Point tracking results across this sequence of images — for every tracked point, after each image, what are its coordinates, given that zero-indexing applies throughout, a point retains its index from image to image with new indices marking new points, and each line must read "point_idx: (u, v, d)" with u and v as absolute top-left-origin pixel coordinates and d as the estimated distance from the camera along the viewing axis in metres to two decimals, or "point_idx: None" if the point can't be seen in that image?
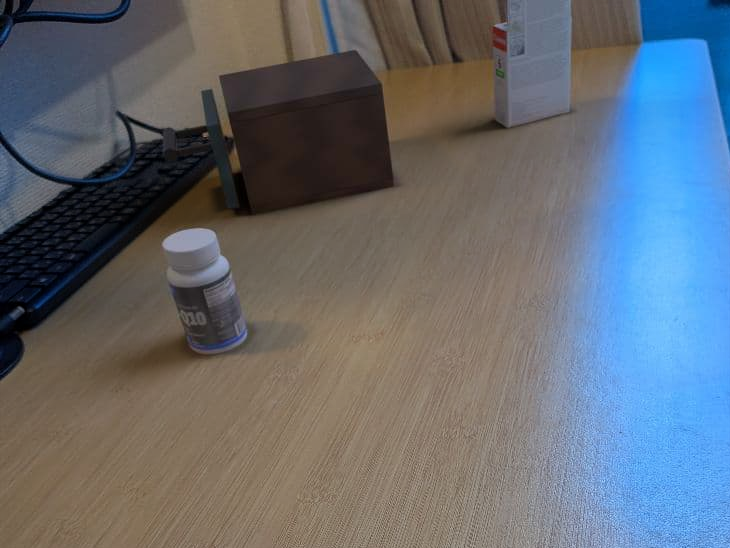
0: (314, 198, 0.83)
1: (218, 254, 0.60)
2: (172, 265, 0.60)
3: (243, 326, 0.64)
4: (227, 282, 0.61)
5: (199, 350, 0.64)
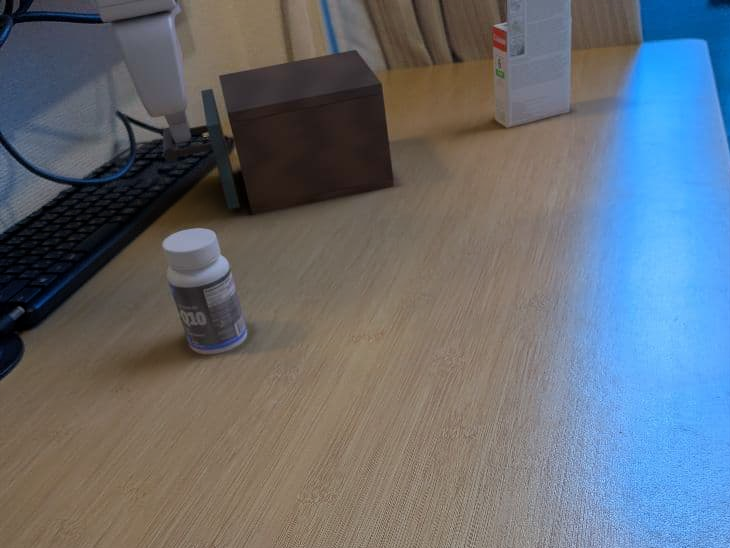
0: (314, 198, 0.83)
1: (218, 254, 0.60)
2: (172, 265, 0.60)
3: (243, 326, 0.64)
4: (227, 282, 0.61)
5: (199, 350, 0.64)
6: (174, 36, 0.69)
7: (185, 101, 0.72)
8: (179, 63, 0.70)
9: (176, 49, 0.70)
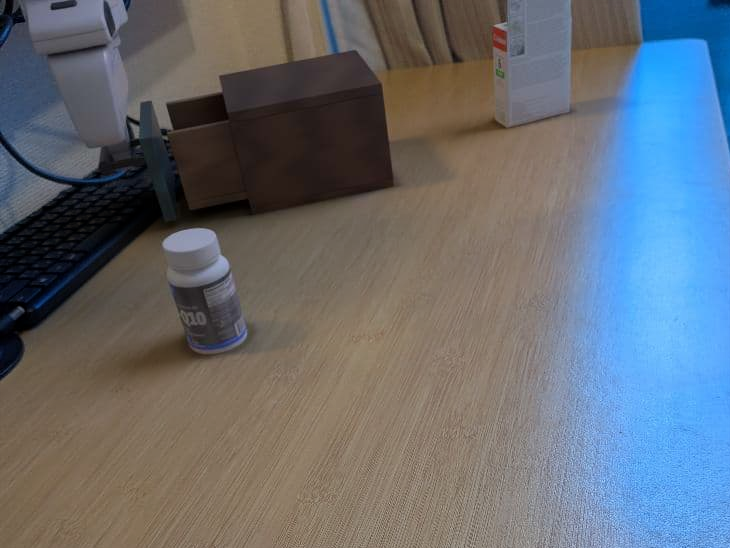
0: (314, 198, 0.83)
1: (218, 254, 0.60)
2: (172, 265, 0.60)
3: (243, 326, 0.64)
4: (227, 282, 0.61)
5: (199, 350, 0.64)
6: (109, 70, 0.70)
7: (122, 133, 0.73)
8: (115, 96, 0.71)
9: (111, 83, 0.71)
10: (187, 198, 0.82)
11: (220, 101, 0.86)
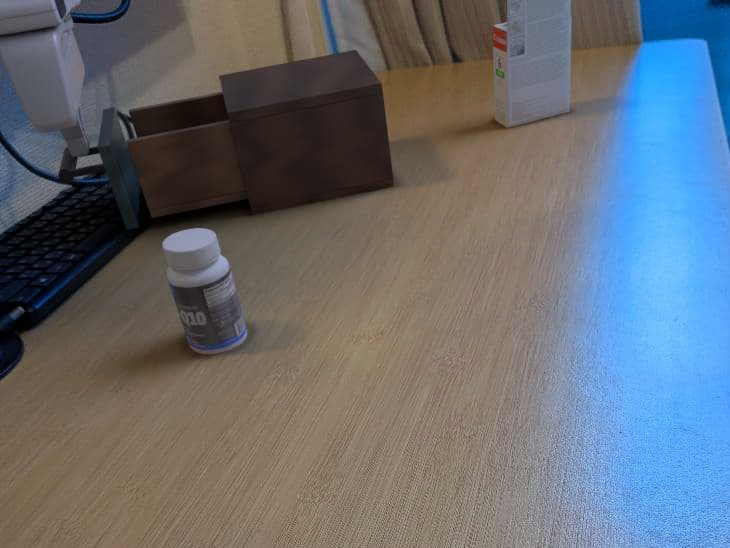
0: (314, 198, 0.83)
1: (218, 254, 0.60)
2: (172, 265, 0.60)
3: (243, 326, 0.64)
4: (227, 282, 0.61)
5: (199, 350, 0.64)
6: (59, 52, 0.69)
7: (73, 117, 0.72)
8: (66, 80, 0.70)
9: (62, 66, 0.69)
10: (148, 206, 0.81)
11: (183, 108, 0.86)
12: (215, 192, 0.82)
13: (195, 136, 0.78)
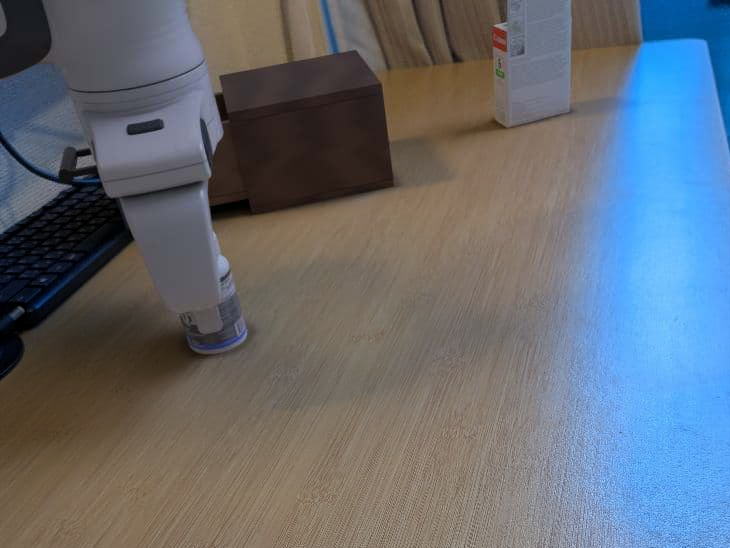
0: (314, 198, 0.83)
1: (218, 254, 0.60)
2: None
3: (243, 326, 0.64)
4: (227, 282, 0.61)
5: (199, 350, 0.64)
6: (208, 215, 0.50)
7: (220, 294, 0.53)
8: (213, 249, 0.51)
9: (210, 232, 0.51)
10: None
11: None
12: (215, 192, 0.82)
13: None
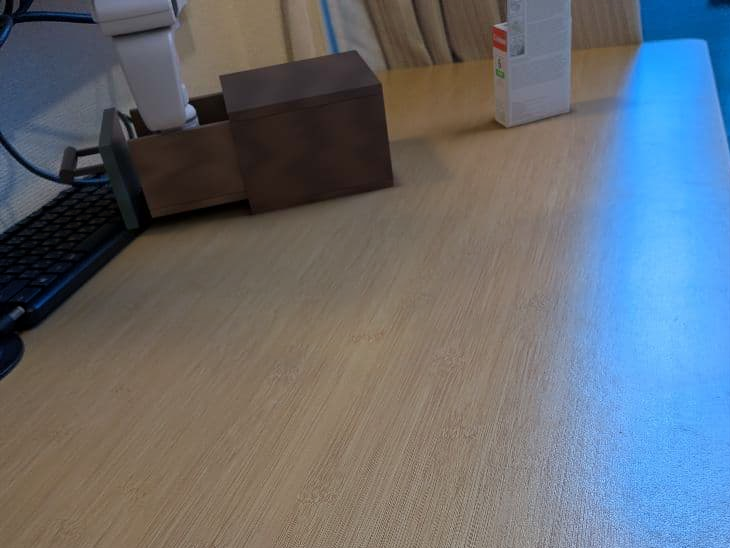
0: (314, 198, 0.83)
1: (187, 101, 0.80)
2: None
3: None
4: (194, 124, 0.81)
5: None
6: (174, 51, 0.70)
7: (184, 115, 0.73)
8: (178, 78, 0.71)
9: (176, 64, 0.71)
10: (149, 206, 0.81)
11: None
12: (215, 192, 0.82)
13: (195, 136, 0.78)
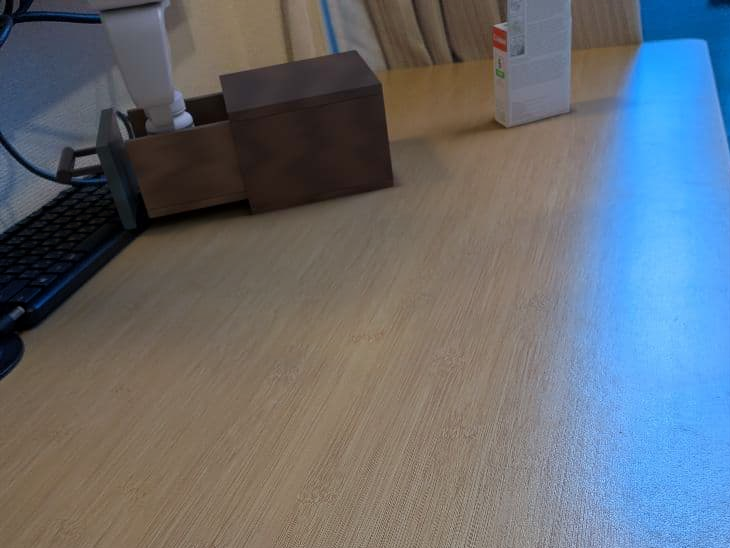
0: (314, 198, 0.83)
1: (183, 108, 0.81)
2: (149, 115, 0.80)
3: None
4: None
5: None
6: (163, 28, 0.69)
7: (173, 94, 0.72)
8: (168, 55, 0.70)
9: (165, 41, 0.69)
10: (146, 206, 0.81)
11: None
12: (213, 192, 0.82)
13: (193, 137, 0.78)
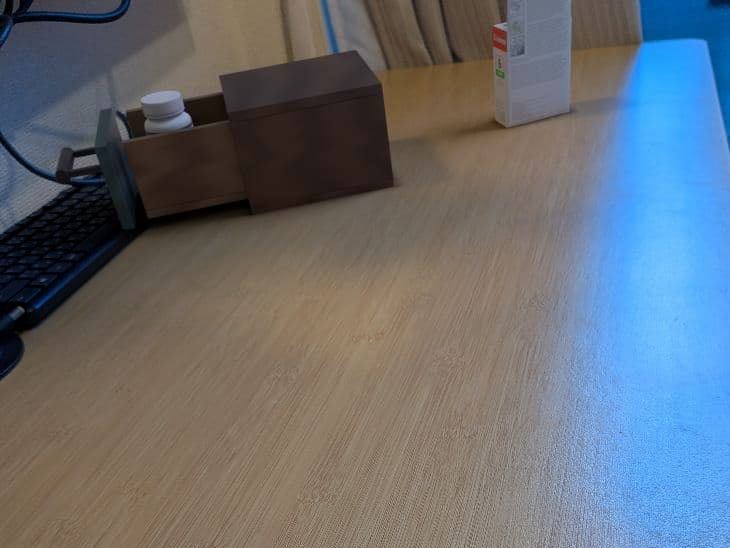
0: (314, 198, 0.83)
1: (182, 108, 0.81)
2: (148, 115, 0.80)
3: None
4: None
5: None
6: None
7: None
8: None
9: None
10: (145, 206, 0.81)
11: None
12: (212, 193, 0.82)
13: (191, 137, 0.78)
